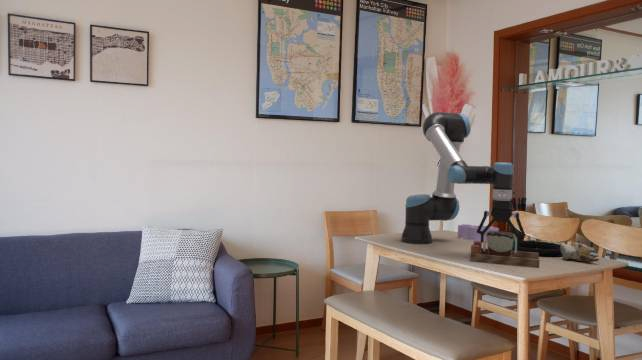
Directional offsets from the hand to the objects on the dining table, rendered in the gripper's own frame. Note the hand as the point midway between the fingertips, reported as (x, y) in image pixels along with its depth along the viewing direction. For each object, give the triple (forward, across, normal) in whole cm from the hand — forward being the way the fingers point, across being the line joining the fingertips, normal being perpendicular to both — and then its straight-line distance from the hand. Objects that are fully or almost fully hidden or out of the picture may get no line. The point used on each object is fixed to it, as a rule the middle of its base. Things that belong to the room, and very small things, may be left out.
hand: (499, 251), depth 216 cm
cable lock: (+4, +15, +31) cm, 35 cm away
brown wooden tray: (+3, +2, 0) cm, 4 cm away
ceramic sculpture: (+4, +31, +15) cm, 35 cm away
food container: (+2, +1, 0) cm, 2 cm away
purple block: (+4, -14, +56) cm, 57 cm away
